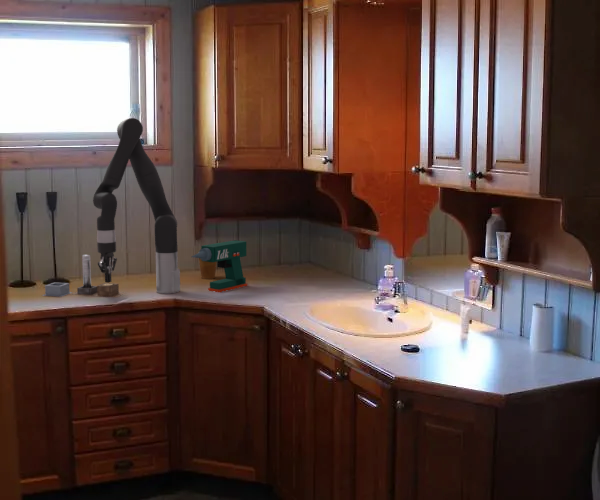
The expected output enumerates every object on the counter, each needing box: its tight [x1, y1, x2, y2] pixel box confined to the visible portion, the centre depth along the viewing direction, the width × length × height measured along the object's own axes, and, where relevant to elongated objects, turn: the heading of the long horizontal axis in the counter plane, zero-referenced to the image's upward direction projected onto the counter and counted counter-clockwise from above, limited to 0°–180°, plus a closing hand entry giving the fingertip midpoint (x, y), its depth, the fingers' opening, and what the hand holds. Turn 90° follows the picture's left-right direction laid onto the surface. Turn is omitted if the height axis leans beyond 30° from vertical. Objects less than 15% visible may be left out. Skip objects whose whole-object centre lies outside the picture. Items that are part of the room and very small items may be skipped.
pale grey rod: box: [81, 254, 92, 288], centre depth 339 cm, size 3×3×16 cm
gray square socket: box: [41, 282, 74, 298], centre depth 338 cm, size 9×9×5 cm
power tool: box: [191, 240, 248, 293], centre depth 350 cm, size 32×7×20 cm, turn 143°
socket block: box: [70, 282, 126, 298], centre depth 339 cm, size 21×9×5 cm, turn 75°
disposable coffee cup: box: [198, 258, 217, 280], centre depth 380 cm, size 10×10×12 cm
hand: (108, 282), depth 337 cm, fingers closed
